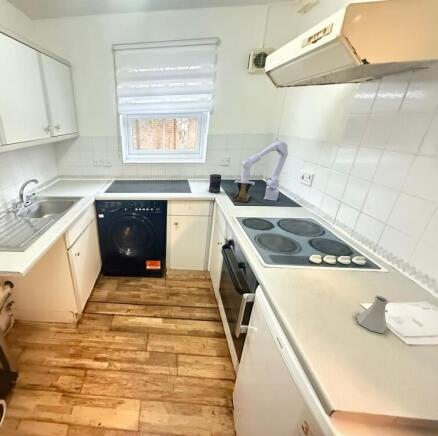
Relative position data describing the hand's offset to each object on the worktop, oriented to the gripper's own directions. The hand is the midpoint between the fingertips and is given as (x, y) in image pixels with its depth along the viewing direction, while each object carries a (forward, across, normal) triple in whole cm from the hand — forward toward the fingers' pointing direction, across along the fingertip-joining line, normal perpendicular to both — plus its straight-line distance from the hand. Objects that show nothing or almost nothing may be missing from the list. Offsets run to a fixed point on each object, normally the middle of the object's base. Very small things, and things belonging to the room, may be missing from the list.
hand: (243, 192), depth 192 cm
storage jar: (+5, -26, +9) cm, 28 cm away
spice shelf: (+5, 0, -1) cm, 5 cm away
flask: (+5, +62, -113) cm, 129 cm away
